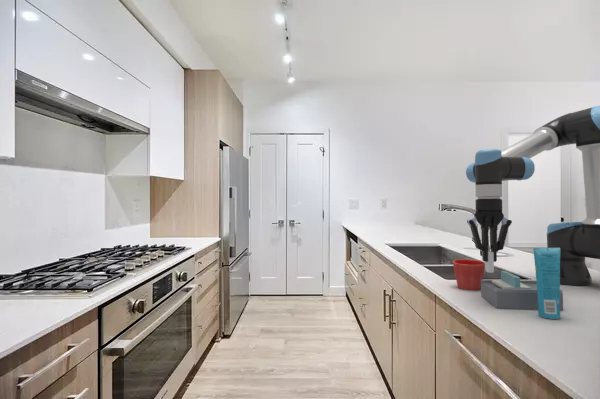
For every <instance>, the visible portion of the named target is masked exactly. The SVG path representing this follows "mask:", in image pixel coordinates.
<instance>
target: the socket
mask: <svg viewBox="0 0 600 399" xmlns="http://www.w3.org/2000/svg"><path fill="white" fill-rule="evenodd" d="M492 280H493V279H483V280H481V289H480V294H481V295H480V296H481V298H482V299H483V300H485V301H486V302H487V303H489V304H490V305H492V306H493V307H495V308H496V309H497V310H498V309H500V310H503V309H504V310H530V311H531V310H537V311H538V295H537V282H536V279H534V280H533V279H532V280H529V279H524V280H523V279H520V283H522V284H525V285H527V286H529V287H531V289H502V288H501V287H499V286H497V285H495V284H494V283H492ZM560 311H564V294H563V289H560Z"/></svg>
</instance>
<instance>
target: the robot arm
mask: <svg viewBox="0 0 600 399" xmlns="http://www.w3.org/2000/svg"><path fill="white" fill-rule="evenodd" d="M566 145H575V148H576V149H578V150H579V151H580V152H581V154H582V155H581V157H582V169H583V170H582V171H583V172H582V173H583V184H584V197H585V198H584V199H585V210H586V211H585V212H586V217H585V219H584V220H581V221H573V222H571V221H570V222H558V223H557V222H556V223H550V224H548V225H547V227H546V228H547V229H546V230H547V231H546V244H547V245H546V246H547V247H546V248H560V285H568V286H590V285H592V283H593V282H592V276H591V273H590V271H589V269H588V266H587V264H586V258H587V259H596V260H600V105H596V106H593V107H589V108H585V109H581V110H577V111H574V112H573V111H572V112H569V113H566V114H563V115H561V116H559V117H556V118H554V119H553V120H551V121H549V122H547V123H545V124H544V125H543V124H542V126H539V127H537V128H536V129H535V130H534V132H533V133H532V134H531V135H529V136H526V137H524V138H522V139H520V140H519V141H518V142H515V143H514V144H512V145H510V146H508V147H506V148H504V149H502V150H501V149H498V148H490V149H489V148H488V149H482V150H478V151H477V152H475V155H474V162H473V163H470V164H469V165H468V166H467V167H466V169H465V170H466V171H465V175H466V178H467V180H468V181H469V182H471V183H474V184H475V185H474V186H475V191H474V192H475V198H476V199H475V213H474V214H473V215H474V217H472V218H470V219H467V220H466V223H467V224H468V226H469V227H470V232H471V235H472V237H473V238H472V239H473V242H474V245H475V248H476V249H477V250H479V251H481V254H482V255H481V258H482V260H481V261H482V262H484V263H485V272H487V273H489V274H490V273H491V274H493V273H495V266H494V265H495V263H496V262H497V260H498V259H497V258H498V254H497V253H498V252H499V251H502V250H503V249H504V247H505V243H506V239H507V235H508V231H509V228H510V226H511V225H512V223H513V220H511V219H508V218H506V217H505V214H504V213H503V199H502V197H503V181H525V180H528V179H530V178H532V176H534V173H535V170H536V169H535V168H536V167H535V163H534V161H533V160H532V158H533V157H535V156H537V155H539V154H541V153H542V152H545V151H547V152H548V151H551V150H554V149H556V148H559V147H563V146H566ZM477 223H478V224H479V226H480V230H481V231H480V232H481V237H480V234H479V229H478V227H477ZM500 223H501V226H500V229H498V228H499V227H498V226H499V225H500ZM498 230H499V233H498Z"/></svg>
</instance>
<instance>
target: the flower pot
mask: <svg viewBox="0 0 600 399" xmlns="http://www.w3.org/2000/svg"><path fill="white" fill-rule="evenodd" d="M452 263H453V264H452V265H453V270H454V275H455V276H454V277H455V280H456V284H457V288H459V289H461V290H464V291H465V290H466V291H479V290H481V280H484V274H485V270H486V266H485V262H484V261H482V260H481V261H480V260H475V259H454V260H453V261H452Z"/></svg>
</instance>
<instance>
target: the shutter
mask: <svg viewBox="0 0 600 399" xmlns="http://www.w3.org/2000/svg"><path fill="white" fill-rule="evenodd" d="M491 280H492V283H494V284H495V285H497V286H499V287H501V288H502V289H531V287H529V286H527V285H525V284H522V283H520V280H521V277H520V276H518V275H516V274H513V273H511V272H509V271H507V270H500V279H491Z"/></svg>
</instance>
